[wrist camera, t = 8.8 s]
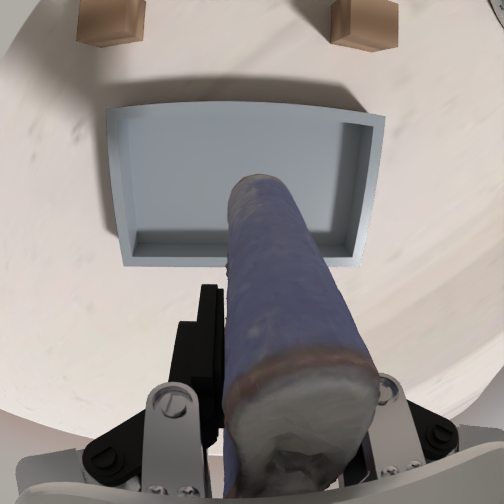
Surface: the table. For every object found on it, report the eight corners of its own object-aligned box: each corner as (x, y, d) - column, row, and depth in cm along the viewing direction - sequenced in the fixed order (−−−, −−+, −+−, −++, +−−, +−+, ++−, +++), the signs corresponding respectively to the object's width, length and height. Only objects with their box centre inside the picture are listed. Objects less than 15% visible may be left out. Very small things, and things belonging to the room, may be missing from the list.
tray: (120, 106, 23) (105, 109, 20) (368, 112, 24) (385, 116, 21) (133, 248, 30) (123, 266, 26) (348, 249, 31) (359, 266, 28)
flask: (227, 168, 11) (229, 544, 1) (306, 174, 11) (504, 463, 2) (220, 350, 15) (225, 562, 6) (277, 351, 16) (311, 555, 6)
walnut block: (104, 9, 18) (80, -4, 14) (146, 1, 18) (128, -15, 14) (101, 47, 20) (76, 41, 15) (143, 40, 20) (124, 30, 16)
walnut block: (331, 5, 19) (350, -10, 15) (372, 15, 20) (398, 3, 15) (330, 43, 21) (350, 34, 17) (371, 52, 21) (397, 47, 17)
